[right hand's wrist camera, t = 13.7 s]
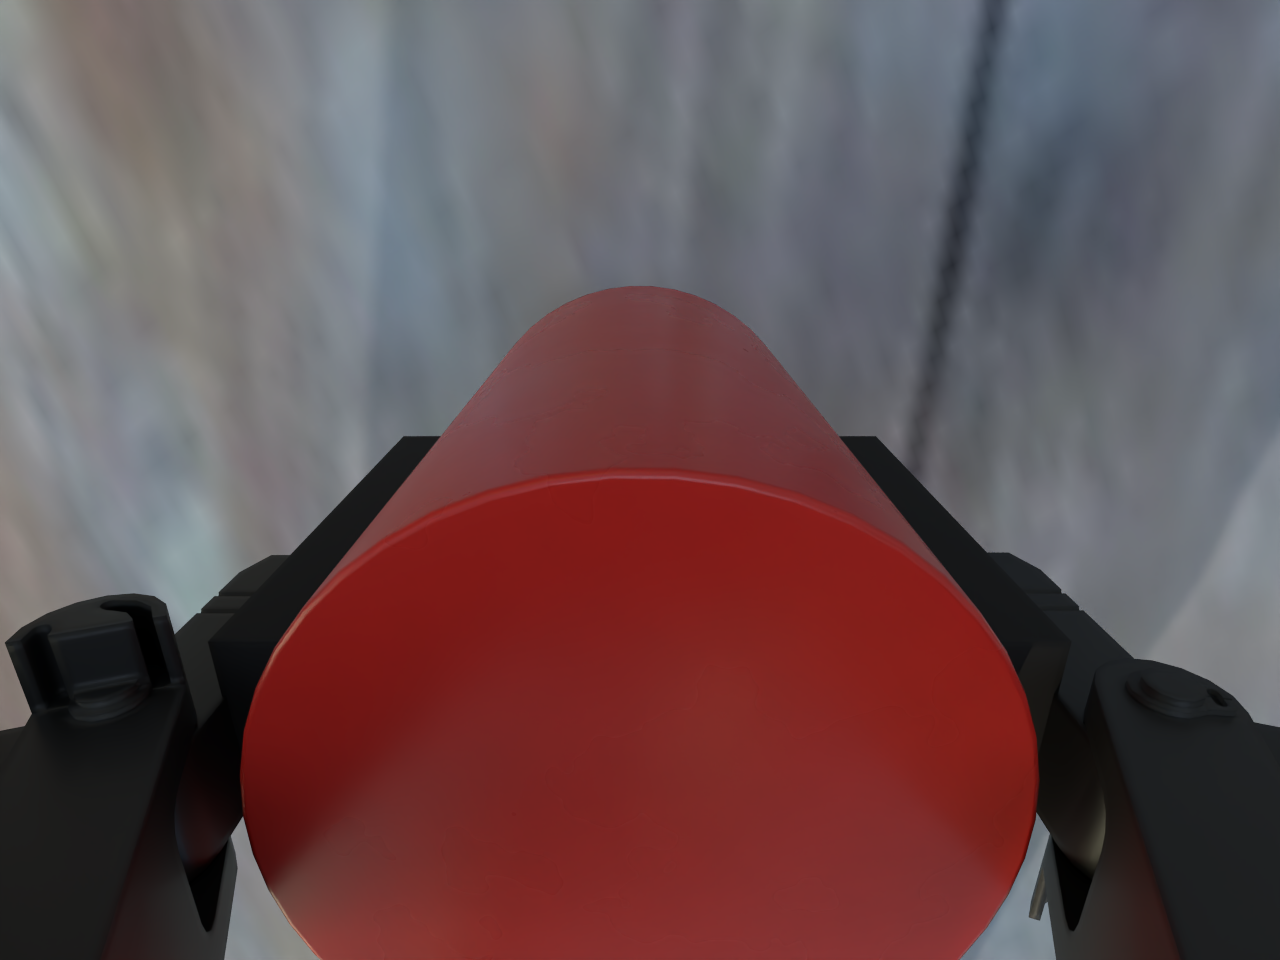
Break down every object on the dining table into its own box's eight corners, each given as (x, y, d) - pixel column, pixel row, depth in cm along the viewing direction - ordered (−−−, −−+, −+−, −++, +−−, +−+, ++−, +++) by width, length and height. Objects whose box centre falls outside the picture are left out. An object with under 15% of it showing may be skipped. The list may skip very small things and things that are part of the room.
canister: (423, 374, 16) (56, 687, 6) (721, 225, 15) (891, 301, 5) (574, 624, 18) (495, 1149, 8) (840, 512, 17) (1123, 964, 7)
